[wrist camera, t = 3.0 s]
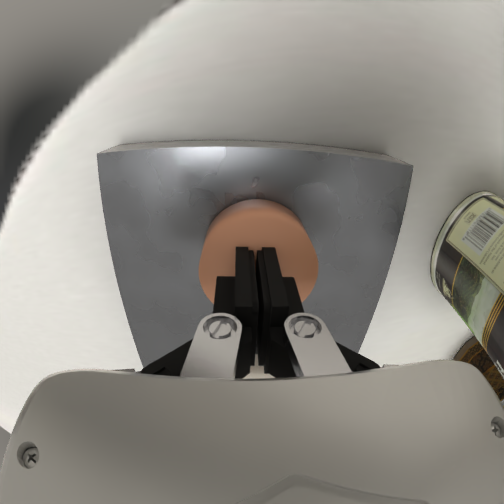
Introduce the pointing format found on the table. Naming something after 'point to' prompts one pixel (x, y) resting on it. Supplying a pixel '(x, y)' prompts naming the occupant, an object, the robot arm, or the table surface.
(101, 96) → the table surface
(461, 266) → the coffee can
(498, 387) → the ceramic cup
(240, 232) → the brown egg
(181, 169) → the panel
